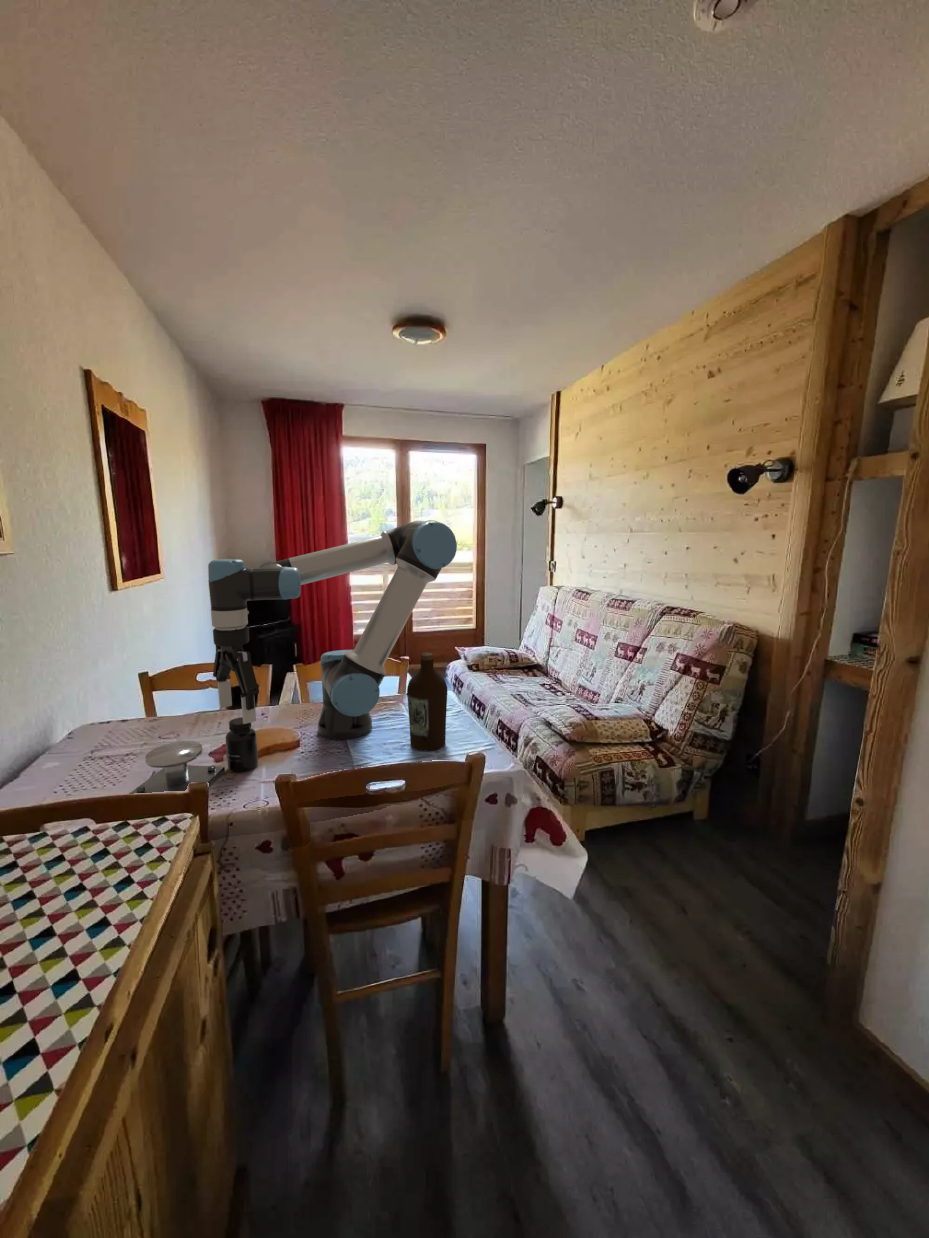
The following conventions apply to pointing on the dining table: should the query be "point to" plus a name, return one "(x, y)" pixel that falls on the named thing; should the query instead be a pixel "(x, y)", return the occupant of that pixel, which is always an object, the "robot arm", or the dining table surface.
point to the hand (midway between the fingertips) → (237, 714)
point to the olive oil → (427, 707)
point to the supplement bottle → (241, 746)
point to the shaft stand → (177, 768)
